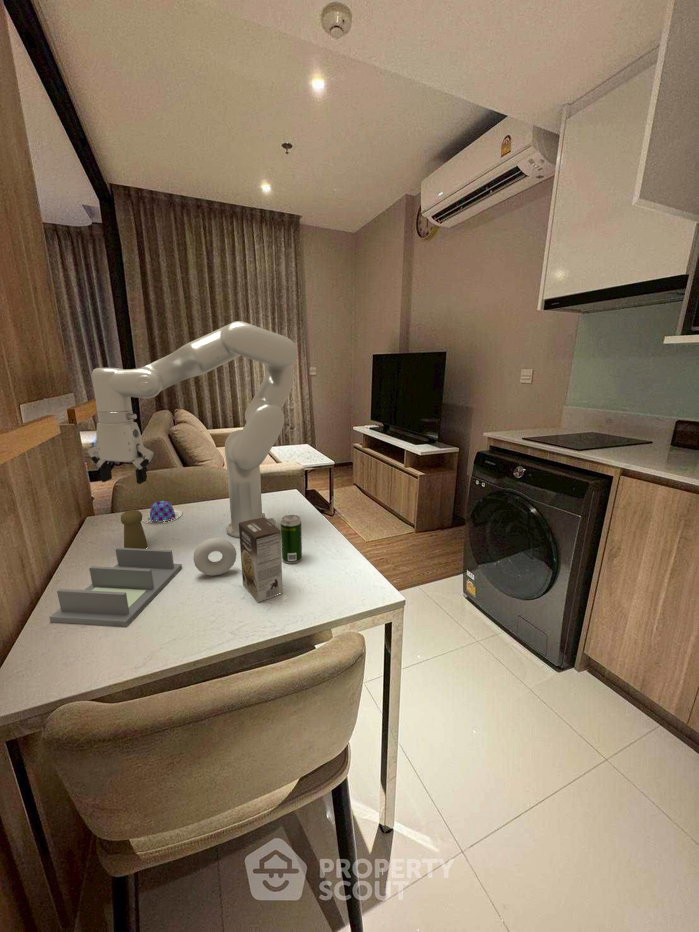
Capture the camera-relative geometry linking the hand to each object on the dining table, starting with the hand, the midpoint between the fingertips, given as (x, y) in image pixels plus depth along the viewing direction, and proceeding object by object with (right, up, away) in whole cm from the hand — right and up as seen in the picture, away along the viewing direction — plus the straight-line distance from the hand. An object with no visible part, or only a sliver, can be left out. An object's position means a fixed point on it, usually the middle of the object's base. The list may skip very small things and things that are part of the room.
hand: (124, 481), depth 99 cm
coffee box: (+40, -25, -12) cm, 49 cm away
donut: (+27, -23, -7) cm, 36 cm away
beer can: (+45, -21, +1) cm, 50 cm away
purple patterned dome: (-3, -14, +26) cm, 30 cm away
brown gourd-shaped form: (0, -19, +6) cm, 20 cm away
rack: (+9, -25, -14) cm, 30 cm away
